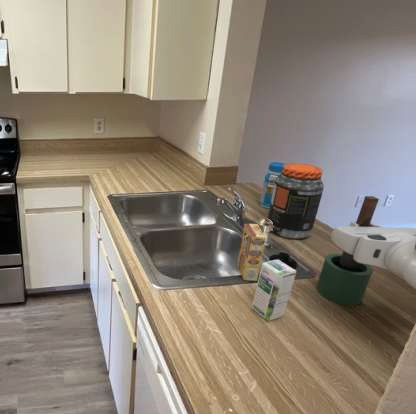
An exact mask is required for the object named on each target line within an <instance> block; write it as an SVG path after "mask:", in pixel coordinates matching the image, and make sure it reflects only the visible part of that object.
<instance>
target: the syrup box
mask: <svg viewBox="0 0 416 414" xmlns="http://www.w3.org/2000/svg"><path fill="white" fill-rule="evenodd" d="M296 275H297V270H296V269H295V268H293V267H291V266H289V265H288V264H286V263H285V262H282V261H281V260H280V259H273V260H268V261H265V262H263V263H261V266H260V270H259V274H258V279H257V284H256V288H255V293H254V297H253V301H252V305H251V309H252V310H253V311H255V312H256V313H257V314H258V315H259V316H260V317H262V318H263V319H264V320H265V321H266V322H270V321H273V320H277V319H280V318H282V317H284V316H285V313H286V310H287V305H288V302H289V299H290V295H291V292H292V288H293V285H294V282H295V278H296Z"/></svg>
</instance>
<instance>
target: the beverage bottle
mask: <svg viewBox="0 0 416 414" xmlns="http://www.w3.org/2000/svg"><path fill="white" fill-rule="evenodd" d="M285 164H286V163H283V162H278V161H272V162H269V164H268V172H267V173H266V174H265V175H264V180H263V183H262V185H263V186H262V190H261V194H260V195H261V196H260V199H259V205H260V206H261V207H263V208H264V209H265V208H266V209H268V210H269V209H270V204H271V199H272V194H273V189H274V184H275V180H276V178H277V177H278V176H279V175H280V174H281V173H282V169H283V166H284V165H285Z"/></svg>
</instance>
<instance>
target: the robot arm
mask: <svg viewBox="0 0 416 414" xmlns="http://www.w3.org/2000/svg"><path fill="white" fill-rule="evenodd" d="M360 226H361V224H360V223H358V222H356V221H350V223H349V225H346V226H345V225H336V226H335V227H334V228H333V229H332V231H331V235H330V239H331V241H332V242H333V244H335V245H336V246H337V247H339V248H340V249H341V250H344V251H345V252H347V253H349V254H351V255H354V257H353V259H354V260H355V261H357V262H359V263H363V264H368V265H370V266H373V267H377V268H381V269H384V270H386V271H387V270H388V271H390V272H391V273H393V274H394V275H396V276H399V277H401V278H402V279H404V281H405V283H407V284H408V285H409V287H411V288H413V289H414V290H416V228H415V227H393V226H392V227H390V226H382V225H378V224H375V223H373V222H372V221H371V222H370V225H369V227H360Z"/></svg>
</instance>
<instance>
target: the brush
mask: <svg viewBox="0 0 416 414" xmlns="http://www.w3.org/2000/svg"><path fill="white" fill-rule="evenodd" d="M379 200H380V199H379V198H378V197H375V196H374V195H368V196H367V195H366V196H364V198H363V202H362V204H361V207H360V210H359V213H358V216H357V219H356V221H355V222H358V223H360V224H361V226H360V227H369V225H370V222H372V220H373V217H374V214H375V211H376V208H377V205H378V204H379ZM341 254H342V256H341V259H340V262H339V263H340V264H341V265H342V266H344V267H346V268H350V269H356V268H357V266H358V263H359V262H357V261H355V260H354V259H353V257H354V255H351V254H349V253H347V252H345V251H344V250H343V251H342V253H341Z"/></svg>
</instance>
